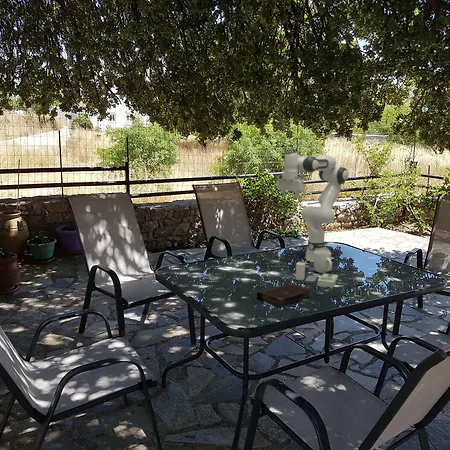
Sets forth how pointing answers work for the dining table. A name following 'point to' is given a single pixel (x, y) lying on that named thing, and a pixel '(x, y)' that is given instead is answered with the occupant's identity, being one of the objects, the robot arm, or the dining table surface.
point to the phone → (311, 279)
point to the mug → (322, 261)
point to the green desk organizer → (327, 280)
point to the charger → (300, 271)
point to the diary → (284, 294)
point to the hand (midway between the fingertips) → (289, 197)
